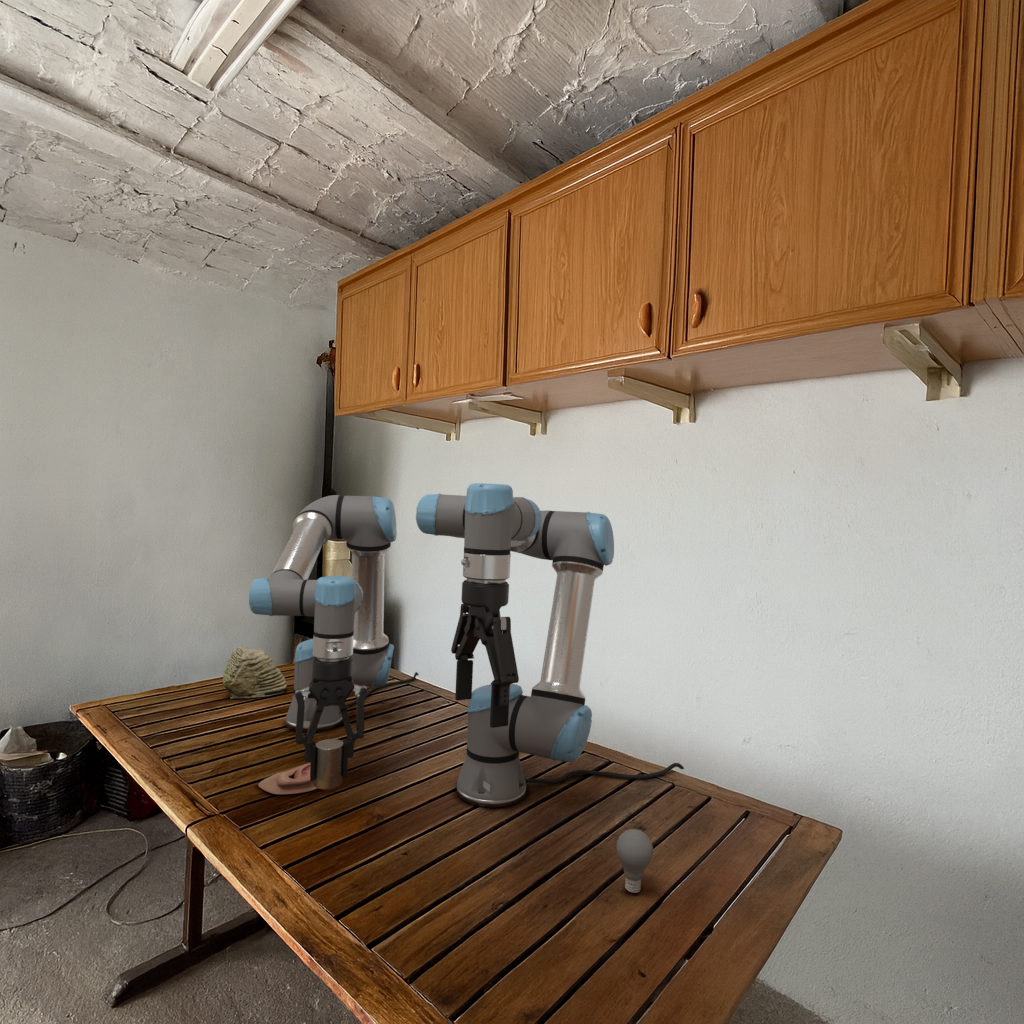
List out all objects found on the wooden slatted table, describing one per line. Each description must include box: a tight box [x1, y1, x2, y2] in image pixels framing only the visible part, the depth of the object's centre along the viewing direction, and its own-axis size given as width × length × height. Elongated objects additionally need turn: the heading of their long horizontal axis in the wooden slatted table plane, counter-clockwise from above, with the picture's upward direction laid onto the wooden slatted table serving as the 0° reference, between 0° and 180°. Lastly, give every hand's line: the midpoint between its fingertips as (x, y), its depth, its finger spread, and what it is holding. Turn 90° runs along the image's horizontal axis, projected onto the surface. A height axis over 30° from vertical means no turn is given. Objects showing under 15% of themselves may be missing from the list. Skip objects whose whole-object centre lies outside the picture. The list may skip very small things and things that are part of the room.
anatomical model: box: [257, 762, 318, 795], centre depth 139 cm, size 13×4×12 cm
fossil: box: [222, 646, 288, 699], centre depth 198 cm, size 9×18×15 cm, turn 132°
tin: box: [314, 738, 344, 790], centre depth 123 cm, size 5×5×8 cm
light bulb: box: [615, 828, 654, 894], centre depth 106 cm, size 6×6×10 cm
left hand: (328, 775), depth 123 cm, fingers closed on tin, 5 cm apart
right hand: (480, 712), depth 102 cm, fingers open, 13 cm apart
